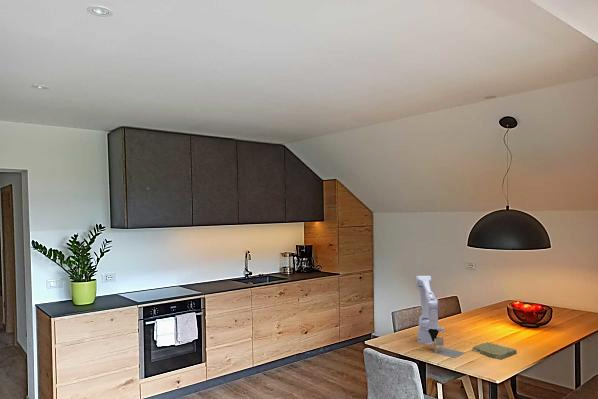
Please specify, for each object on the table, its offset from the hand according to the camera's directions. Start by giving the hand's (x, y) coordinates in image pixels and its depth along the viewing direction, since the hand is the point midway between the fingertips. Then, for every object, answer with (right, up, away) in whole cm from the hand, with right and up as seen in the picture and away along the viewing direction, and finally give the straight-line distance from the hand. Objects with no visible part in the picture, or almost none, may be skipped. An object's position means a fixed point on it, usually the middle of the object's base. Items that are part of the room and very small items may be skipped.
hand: (433, 341), depth 281 cm
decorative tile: (+34, -6, -6) cm, 35 cm away
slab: (+3, -5, -3) cm, 6 cm away
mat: (+7, -6, -5) cm, 10 cm away
